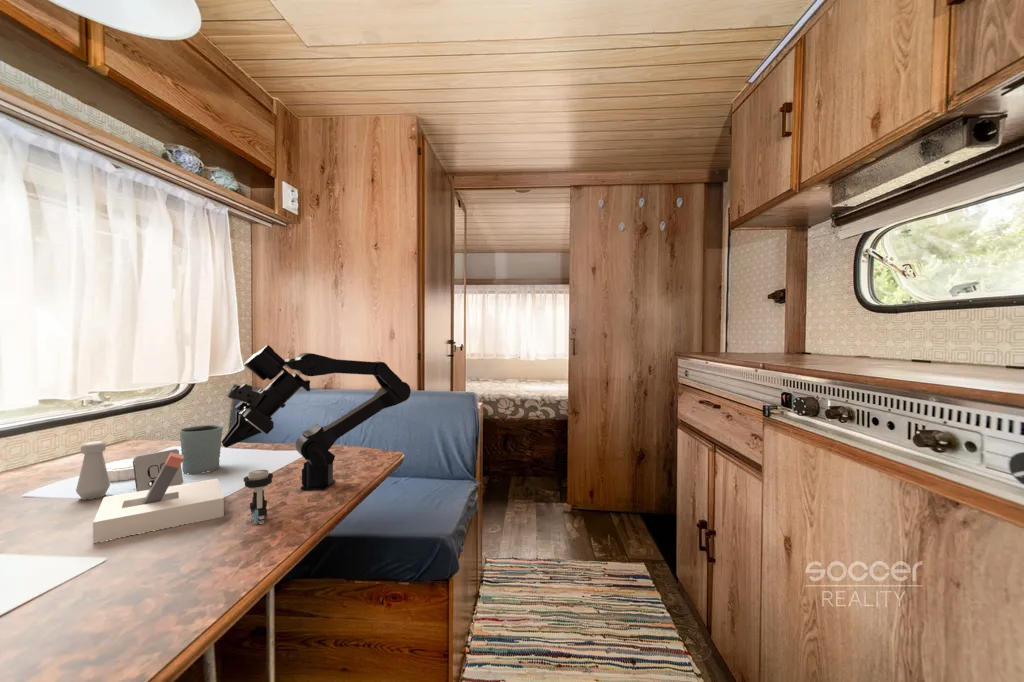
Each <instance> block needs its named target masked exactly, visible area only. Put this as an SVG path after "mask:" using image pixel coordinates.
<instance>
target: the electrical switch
mask: <svg viewBox="0 0 1024 682" xmlns="http://www.w3.org/2000/svg"><path fill="white" fill-rule="evenodd" d="M171 452H172V453H176V454H180V450H179V449H177V448H174V449H173V448H172V449H168V450H163V451H158V452H153V453H148V454H141V455H136V456H135V457H134V458H132V459H133V469H134V476H135V479H134V481H135V489H136V490H135V492H138V491H144V490H150V489H151V487H152V485H153V483H154V481H155V480H156V478H157V476H158V474H159V472H160V471H161V469H162V467H163V465H164V463H165V462H166V460H167V458H168V456H169V454H170V453H171ZM150 483H151V485H150ZM183 483H184V478H183V469H182V464H181V465H180V467H179V468H178V470H177V472H176V474H175V476H174V478H173V479H172V481H171V483H170V485H169V486H175V485H181V484H183Z"/></svg>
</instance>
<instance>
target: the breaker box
mask: <svg viewBox="0 0 1024 682" xmlns="http://www.w3.org/2000/svg"><path fill="white" fill-rule="evenodd" d="M148 492H149V490H144V491H138V492H137V491H132V492H127V493H120V494H116V495H115V494H114V495H110V496H109V495H108V496H103V497H102V501H101V503H100V505H99V508H98V510H97V513H96V514H95V517H94V519H93V521H92V544H93V545H95V544H94V543H96V544H98V543H97V542H100V543H103V542H102V541H105V542H107V541H106V540H110V539H115V538H119V537H124V536H128V535H133V534H138V533H143V532H148V531H153V530H157V529H162V528H167V529H169V528H168V527H172V528H175V527H174V526H177V527H180V526H179V525H181V526H185V525H184V524H186V525H190V523H191V524H194V523H195V522H196V523H200V522H204V521H209V520H215V519H219V518H224V517H225V516H224V514H225V513H224V511H225V510H224V509H225V508H224V507H225V505H224V503H225V502H224V501H225V500H224V499H225V498H224V495H223V492H222V488H221V485H220V482H219V479H218V478H212V479H207V480H201V481H193V482H188V483H184V484H183V483H182V484H180V485H175V486H169V487H168V489H167V490H166V492H165V494H164V496H163V498H162V500H161V501H160V502H155V503H149V504H144V505H142V503H143V501H144V499H145V498H146V496H147V494H148ZM162 530H163V529H162ZM153 532H154V531H153ZM148 533H149V532H148ZM143 534H144V533H143ZM124 538H125V537H124ZM119 539H120V538H119ZM115 540H116V539H115ZM110 541H111V540H110Z"/></svg>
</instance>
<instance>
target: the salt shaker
mask: <svg viewBox="0 0 1024 682" xmlns="http://www.w3.org/2000/svg"><path fill="white" fill-rule="evenodd" d="M106 447H107V446H106V442H104V441H98V440H97V441H90V442H86V443H83V444H82V445H81V446H80V453H81V454H82V455H83V459H82V464H81V469H80V473H79V475H78V476H79V478H78V481H77V485H76V489H75V491H76V494H77V495H78V497H80V499H81V500H82V501H87V500H86V499H92V500H95V499H94V498H96V499H99V498H98V497H100V498H103V497H105V495H106V493H107V492H108V490H109V488H110V486H111V481H109V477H108V473H107V469H106V462H105V457H104V452H105V451H106ZM102 496H103V497H102Z"/></svg>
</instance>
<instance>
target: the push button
mask: <svg viewBox="0 0 1024 682" xmlns="http://www.w3.org/2000/svg"><path fill="white" fill-rule="evenodd" d="M273 478H274V474H273V473H271V472H269V470H268V469H256V470H251V471H249V472H248V475H247V476H245V477H244V478H243V482H244V487H246V488H248V489H250V490H253V492H252V502H250V503H249V509H250V512H249V522H252V521H253V522H254V524H255V525H258V524H260V525H262V524H265V522H266V518H267V519H268V509H267V506H268V501H267V499H265V495H264V494H265V490H264V488H266V487H268V486H269V485H270V484H272V482H273Z"/></svg>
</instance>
